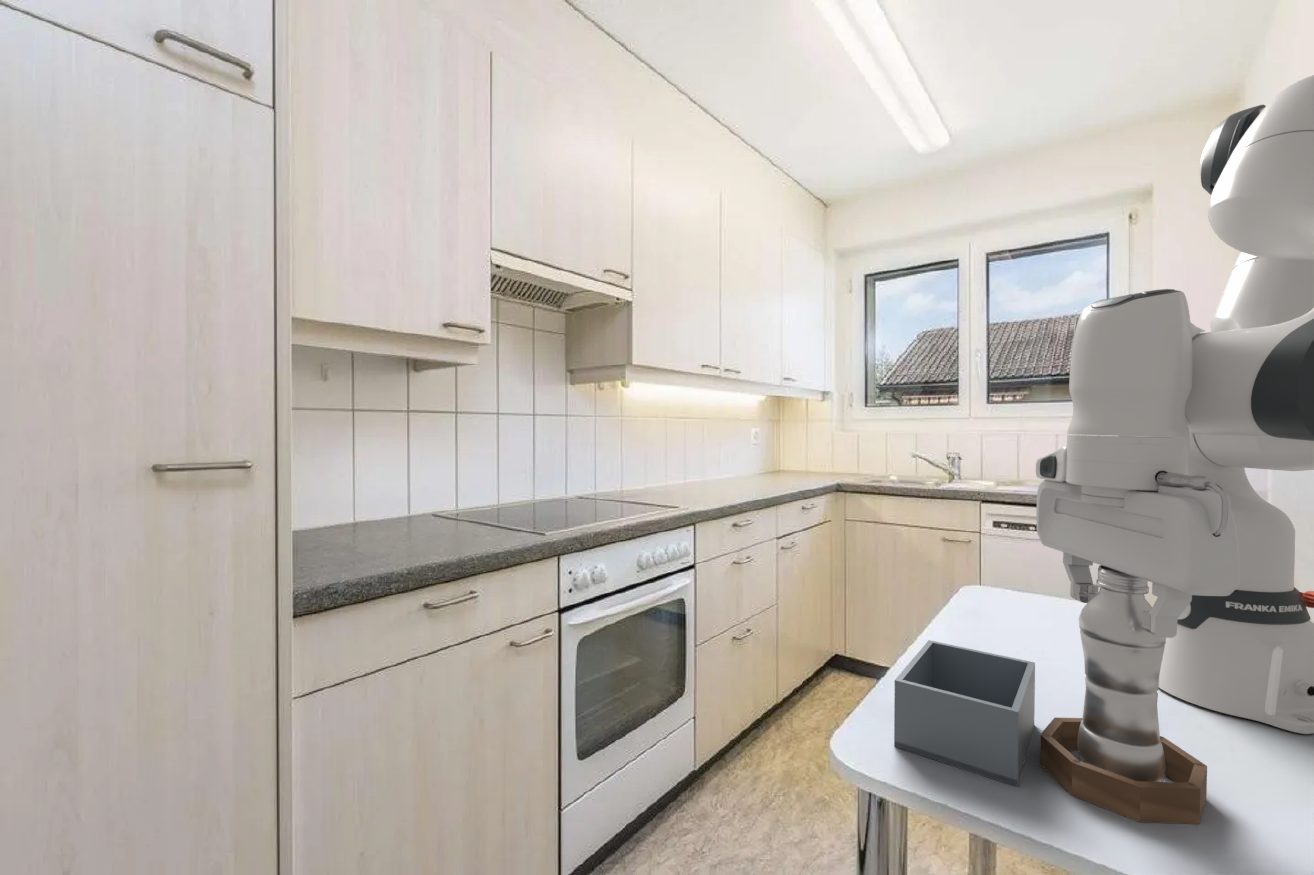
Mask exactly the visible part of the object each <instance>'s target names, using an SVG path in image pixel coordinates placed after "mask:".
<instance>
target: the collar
mask: <svg viewBox="0 0 1314 875" xmlns="http://www.w3.org/2000/svg"><path fill="white" fill-rule="evenodd" d="M1082 719H1083V717H1054V718H1053V719H1052V720H1051V721H1050V722H1049V724H1048V725H1047V726H1046V727H1045V728H1044V730H1042V732H1041V733H1040V736H1039V738H1040V740H1039V742H1040V747H1039V765H1040V766H1041V767H1042V768H1043V769H1044V770H1046V772H1047V773H1048V774H1049V775H1050V776H1051V777H1052V778H1053V779H1055V781H1057V783H1059V784H1060V786H1062V787H1063V788H1064V789H1065V790H1066V791H1067V793H1069V794H1070V795H1071V796H1073V797H1075V798H1078V799H1080V800H1083V801H1086V802H1088V803H1091V804H1092V805H1093V804H1094V805H1096V806H1099V807H1101V808H1102V809H1106V810H1107V811H1111V812H1114V813H1115V814H1118V815H1120V816H1123V817H1126V818H1128V819H1131V820H1133V821H1136V822H1138V823H1159V824H1163V823H1164V824H1186V825H1189V824H1191V825H1194V824H1195V825H1200V824H1201V820H1202V816H1203V812H1204V809H1205V805H1206V801H1207V799H1208V798H1207V795H1208V794H1207V793H1208V792H1207V791H1208V790H1207V789H1208V788H1207V787H1208V786H1207V785H1208V782H1207V781H1208V766H1207V765H1206V764H1205V763H1203V762H1202V761H1200V760H1199V759H1197V758H1196V757H1195V756H1193V755H1191V754H1190V753H1188V752H1187V751H1185V750H1184V749H1182V748H1180V747H1179V746H1178V745H1177V744H1175V743H1173V742H1172V741H1170V740H1169V739H1168V738H1166V737H1164V736H1162V735H1160V741H1161V743H1162V747H1163V751H1164V757H1165V764H1166V771H1165V775H1164V776H1166V778H1169V780H1171V781H1172V782H1170V781H1169V782H1168V781H1163V782H1140V781H1135V780H1132V779H1129V778H1126V777H1123V776H1121V775H1118V774H1115V773H1112V772H1109V771H1107V770H1104V769H1101V768H1098V767H1095V766H1093V765H1090V764H1087V763H1084V762H1081V760H1080V759H1078V758H1077V757H1076V756H1074V755H1073V754H1072V752H1070V751H1074V752H1075V751H1078V746H1077V739H1078V733H1079V727H1080V724H1081V721H1082ZM1078 752H1079V751H1078Z"/></svg>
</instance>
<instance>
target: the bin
mask: <svg viewBox="0 0 1314 875" xmlns="http://www.w3.org/2000/svg"><path fill="white" fill-rule="evenodd" d="M1035 690H1036V662H1034V661H1030V660H1025V659H1019V658H1015V657H1010V656H1006V655H1001V654H996V653H992V652H987V651H982V650H978V649H973V648H968V647H963V646H959V645H954V644H949V643H944V642H939V641H936V640H935V641H934V640H929V639H928V640H927V641H926V643H925V644H924V645H923V646H922V647H921V649H920V650H919V651H918V652H917V653H916V654H915V656H914V657H913V658H912V659H911V661H910V662H909V663H908V664H907V665H906V666H905V667H904V668H903V670H902V671H901V672H900V673H899V674H898V675H897V677H896V678H895V679H894V706H893V708H894V709H893V710H894V718H893V719H894V724H893V726H894V729H893V731H894V733H893V735H894V736H893V738H894V739H893V740H894V742H893V746H894V747H895V748H898V749H900V750H904V751H906V752H909V753H913V754H916V755H919V756H921V757H925V758H928V759H932V760H934V761H937V762H940V763H944V764H946V765H950V766H953V767H955V768H959V769H962V770H964V771H968V772H970V773H974V774H977V775H980V776H983V777H986V778H989V779H992V780H996V781H998V782H1001V783H1004V784H1007V785H1011V786H1014V787H1017V788H1018V786H1019V782H1020V779H1021V776H1022V771H1023V768H1024V764H1025V760H1026V757H1027V752H1028V749H1029V746H1030V742H1031V738H1032V735H1033V730H1034V727H1035V703H1036V702H1035V700H1036V699H1035V698H1036V696H1035V695H1036V694H1035V693H1036V691H1035Z"/></svg>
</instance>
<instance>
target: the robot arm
mask: <svg viewBox="0 0 1314 875" xmlns="http://www.w3.org/2000/svg"><path fill="white" fill-rule="evenodd" d="M1199 174H1200V175H1199V176H1200V183H1201V187H1202V188H1203V190H1204V191H1206V192H1207V193H1208V194H1209V195H1210V199H1209V202H1208V208H1207V218H1208V221H1209V224H1210V226H1211V229H1212V231H1213V232H1214V233H1215V235H1217V237H1218V238H1219V239H1220V240H1221V241H1222V242H1223V243H1225V244H1226V245H1228V246H1229V247H1231V248H1233V249H1235V250H1237V251H1238V252H1239V255H1238V256H1237V259H1236V260H1235V263H1234V265H1233V266H1232V269H1231V272H1230V274H1229V276H1228V278H1227V281H1226V283H1225V286H1224V288H1223V290H1222V293H1221V295H1220V298H1219V300H1218V303H1217V305H1216V307H1215V310H1214V312H1213V314H1212V317H1211V318H1210V323H1209V324H1210V332H1208V331H1207V332H1206V330H1205V329H1203V328H1201V327H1198V326H1196V325H1195V324H1194V323H1192V322H1191V316H1190V310H1189V304H1188V300H1187V296H1186V294H1185V292H1184V291H1181V290H1176V289H1170V288H1165V289H1164V288H1163V289H1154V290H1147V291H1143V292H1137V293H1131V294H1129V293H1128V294H1125V295H1120V296H1115V297H1110V298H1104V299H1099V300H1097V301H1095V302H1092V303H1091V304H1089V306H1086V307H1085V308H1084V309H1083V310H1082V312H1081V313H1080V315H1079V318H1078V320H1077V323H1076V324H1077V325H1076V327H1075V331H1074V335H1073V341H1072V347H1071V356H1070V365H1069V379H1068V380H1069V382H1068V384H1069V386H1068V390H1069V394H1070V398H1071V401H1072V408H1073V409H1072V416H1071V417H1072V418H1071V420H1070V423H1069V425H1068V428H1067V433H1066V434H1067V436H1066V445H1064V446H1061V447H1059V449H1057V450H1054V451H1053V452H1050V453H1048V454H1046V455H1043V456H1041V457H1039V458H1038V459H1036V463H1035V476H1036V477H1037V478H1038V479H1040V480H1042V481H1041V482H1039V485H1038V488H1037V494H1036V513H1035V514H1036V532H1037V535H1038V538H1039V541H1040V542H1041V544H1042V546H1044V547H1047V548H1050V549H1053V550H1056V551H1059V552H1062V553H1063V554H1062V555H1063V556H1062V563H1063V566H1064V569H1065V572H1066V574H1067V577H1068V579H1069V582H1070V588H1069V589H1070V591H1069V592H1070V594H1069V595H1070V598H1072V599H1074V600H1076V601H1078V602H1080V603H1083V604H1087V603H1088V602H1089V601H1090V600H1091V599H1092V598H1093V597H1094V596H1095V595H1096V594H1097V593H1098V592H1099V587H1098V586H1097V585H1096V583H1094V582H1093V577H1092V573H1091V568H1090V566H1091V567H1092V566H1093V565H1094V564H1097V565H1099V566H1100V565H1103V566H1105V567H1108V568H1111V569H1114V570H1117V571H1120V572H1123V573H1126V574H1129V575H1132V576H1135V577H1138V578H1141V579H1144V580H1147V581H1148V582H1150V583H1151V584H1152V585H1151V594H1152V596H1155V597H1156V599H1155V602H1154V604H1153V605H1152V606H1151V607H1152V609H1151V611H1142V619H1143V623H1142V628H1143V630H1145V631H1146V632H1149V633H1151V634H1153V635H1155V636H1157V637H1165V638H1166V644H1165V645H1164V646H1165V649H1164V654H1163V659H1162V664H1161V669H1160V674H1159V687H1158V689H1161V690H1163V691H1164V692H1166V693H1167V694H1169V695H1172V696H1174V697H1176V698H1178V699H1180V700H1183V701H1185V702H1188V703H1191V704H1193V705H1196V706H1199V707H1202V708H1205V709H1208V710H1211V711H1215V712H1218V713H1222V714H1226V715H1230V716H1235V717H1238V718H1243V719H1248V720H1252V721H1256V722H1260V723H1263V724H1267V725H1269V726H1270V725H1271V726H1272V727H1275V728H1279V729H1282V730H1286V731H1289V732H1293V733H1297V734H1303V735H1311V734H1314V622H1312V621H1311V620H1312V619H1311V616H1310V614H1309V611H1308V608H1311V609H1312V608H1313V609H1314V591H1313V590H1307V591H1305V592H1302V591H1300V590H1298V589H1297V588H1296V587H1295V555H1296V552H1295V550H1296V528H1295V526H1294V524H1293V522H1292V520H1291V519H1290V517H1289V516H1288V515H1287V513H1285V512H1284V511H1282V510H1281V509H1280V508H1279V507H1276V506H1275V505H1274V504H1272V503H1270V502H1267V501H1266V500H1265V499H1264V498H1262V497H1261V496H1260V495H1259V494H1258V493H1257V492H1256V490H1255V489H1254V488H1253V485H1252V484H1251V483H1250V481H1249V479H1248V476H1247V473H1246V470H1245V469H1256V470H1257V469H1259V470H1272V471H1286V472H1299V471H1301V472H1303V471H1311V470H1312V471H1314V74H1313V75H1310V76H1307V77H1305V78H1302V79H1300V80H1297V81H1296V82H1294V83H1293V84H1291V85H1289V86H1287V87H1285V88H1284V89H1283V90H1282V91H1280V92H1278V94H1277V95H1275V96H1274V97H1273V98H1272V99H1271V100H1270V101H1269V103H1267V105H1265V104H1260V105H1256V106H1252V107H1248V108H1245V109H1243V110H1241V111H1237V112H1236V113H1235V112H1234V113H1233V114H1230V115H1229V116H1228V117H1226V118H1225V119H1224V120H1223V121H1222V122H1221V121H1220V123H1219V124H1218V125H1216V126H1215V127H1214V128H1213V130H1212V132H1211V134H1210V136H1209V138H1208V140H1207V141H1206V143H1205V145H1204V147H1203V150H1202V153H1201V154H1200V159H1199Z"/></svg>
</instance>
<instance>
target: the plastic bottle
mask: <svg viewBox="0 0 1314 875" xmlns="http://www.w3.org/2000/svg"><path fill="white" fill-rule="evenodd" d="M1148 582H1149V581H1147V580H1144V579H1141V578H1138V577H1135V576H1132V575H1129V574H1126V573H1123V572H1120V571H1117V570H1114V569H1111V568H1108V567H1105V566H1103V565H1100V564H1099V566H1098V568H1097V579H1096V583H1095V585H1097V586H1098V588H1099V590H1098V593H1097V594H1096V595H1095V596H1094V597H1093V598H1092V599H1091V600H1090V601H1089V602H1088V603H1085V605H1084V606H1083V607H1082V609H1081V611H1080V614H1079V616H1078V624H1079V625H1078V626H1079V630H1080V631H1079V632H1080V640H1081V647H1082V651H1083V652H1082V653H1083V659H1084V674H1085V677H1084V678H1085V679H1084V680H1085V692H1084V702H1083V703H1084V704H1083V709H1082V718H1083V719H1082V721H1081V724H1080V727H1079V733H1078V739H1077V746H1078V757H1079V761H1081V762H1084V763H1087V764H1090V765H1093V766H1095V767H1098V768H1101V769H1104V770H1107V771H1109V772H1112V773H1115V774H1118V775H1121V776H1123V777H1126V778H1129V779H1132V780H1135V781H1140V782H1164V778H1165V776H1166V775H1165V771H1166V764H1165V757H1164V751H1163V747H1162V743H1161V741H1160V736H1161V735H1160V734H1161V733H1160V732H1161V731H1160V724H1159V723H1160V722H1159V713H1158V698H1159V694H1158V693H1159V692H1158V690H1159V674H1160V669H1161V664H1162V659H1163V654H1164V649H1165V646H1164V645H1165V644H1166V638H1165V637H1157V636H1155V635H1153V634H1151V633H1149V632H1146V631H1145V630H1143V628H1142V623H1143V619H1142V611H1151V609H1152V607H1153V606H1152V605H1151V604H1150V602H1149V601H1147V599H1146V597H1145V595H1147V594H1149V592H1150V587H1149V586H1148Z"/></svg>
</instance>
